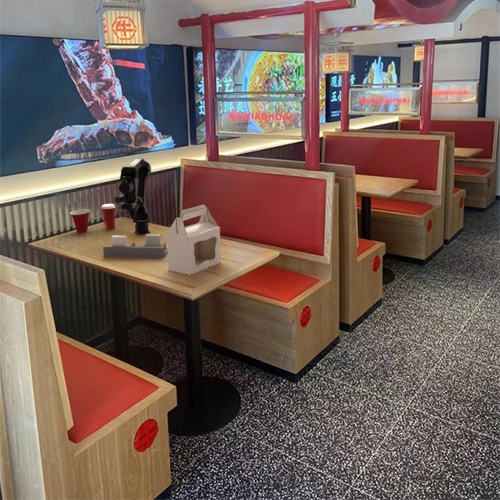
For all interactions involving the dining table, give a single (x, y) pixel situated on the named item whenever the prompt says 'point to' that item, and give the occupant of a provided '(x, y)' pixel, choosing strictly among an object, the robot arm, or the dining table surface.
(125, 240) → the cream block
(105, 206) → the paper cup
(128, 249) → the grey compartment tray
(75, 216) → the plastic cup
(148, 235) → the white box
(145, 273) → the dining table surface
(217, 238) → the gable box
